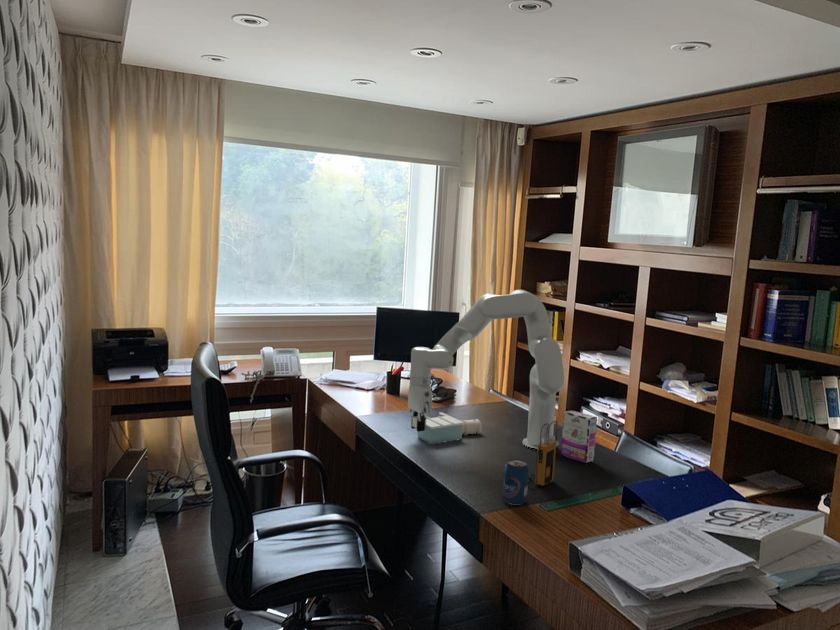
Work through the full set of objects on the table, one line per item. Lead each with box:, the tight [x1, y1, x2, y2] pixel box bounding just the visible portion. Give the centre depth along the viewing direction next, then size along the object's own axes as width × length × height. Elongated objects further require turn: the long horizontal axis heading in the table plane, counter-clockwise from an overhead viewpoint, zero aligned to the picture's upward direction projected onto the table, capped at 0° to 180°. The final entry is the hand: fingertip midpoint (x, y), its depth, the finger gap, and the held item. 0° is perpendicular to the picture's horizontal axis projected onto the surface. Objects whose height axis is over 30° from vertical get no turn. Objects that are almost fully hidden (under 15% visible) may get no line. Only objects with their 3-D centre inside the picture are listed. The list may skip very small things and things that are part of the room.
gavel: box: [438, 411, 483, 436], centre depth 258 cm, size 10×6×32 cm
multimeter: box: [534, 420, 558, 489], centre depth 200 cm, size 15×10×20 cm
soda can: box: [502, 458, 530, 504], centre depth 183 cm, size 7×7×12 cm
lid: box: [411, 415, 464, 429], centre depth 236 cm, size 10×19×4 cm, turn 123°
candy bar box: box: [560, 409, 598, 463], centre depth 222 cm, size 11×5×16 cm, turn 40°
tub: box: [417, 425, 463, 445], centre depth 238 cm, size 9×14×6 cm, turn 123°
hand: (417, 429), depth 232 cm, fingers closed on lid, 3 cm apart
